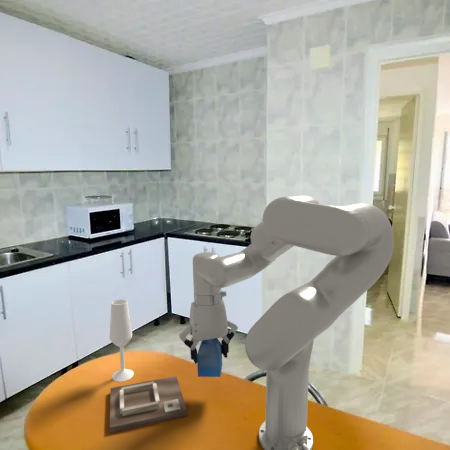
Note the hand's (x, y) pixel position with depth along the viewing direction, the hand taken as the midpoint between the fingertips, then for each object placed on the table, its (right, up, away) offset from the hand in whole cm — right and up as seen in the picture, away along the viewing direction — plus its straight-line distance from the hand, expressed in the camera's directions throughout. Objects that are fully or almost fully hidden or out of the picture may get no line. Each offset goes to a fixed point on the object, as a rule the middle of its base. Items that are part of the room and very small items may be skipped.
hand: (210, 358), depth 93 cm
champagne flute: (-28, -10, +11) cm, 32 cm away
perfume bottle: (0, -4, 0) cm, 4 cm away
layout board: (-17, -12, -2) cm, 21 cm away
